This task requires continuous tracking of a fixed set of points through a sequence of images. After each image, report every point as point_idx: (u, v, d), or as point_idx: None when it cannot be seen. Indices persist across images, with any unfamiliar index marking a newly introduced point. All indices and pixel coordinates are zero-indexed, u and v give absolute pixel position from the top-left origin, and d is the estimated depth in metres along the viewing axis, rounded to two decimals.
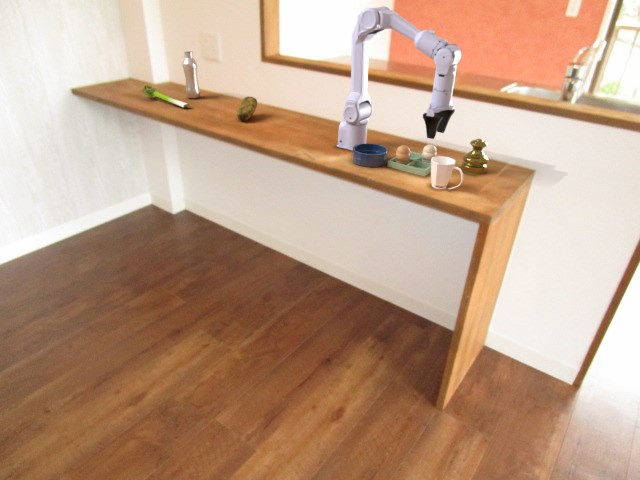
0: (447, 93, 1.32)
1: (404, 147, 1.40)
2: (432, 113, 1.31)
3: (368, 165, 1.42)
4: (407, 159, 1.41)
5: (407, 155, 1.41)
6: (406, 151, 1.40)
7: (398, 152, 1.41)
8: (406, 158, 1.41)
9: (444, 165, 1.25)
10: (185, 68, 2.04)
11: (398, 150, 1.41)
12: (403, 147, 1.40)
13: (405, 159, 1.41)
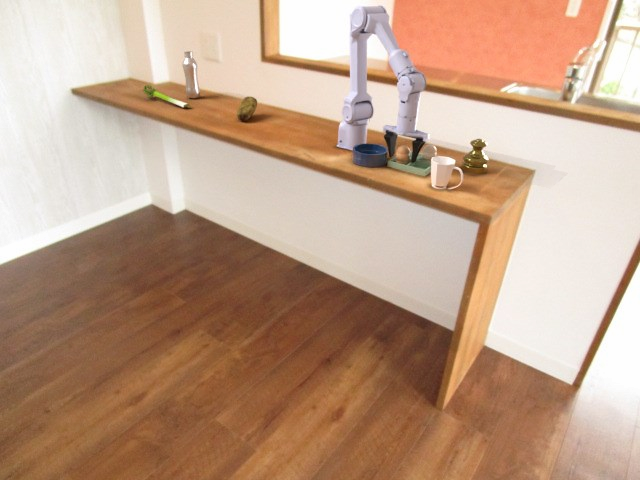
0: (398, 117, 1.36)
1: (404, 147, 1.40)
2: (383, 129, 1.42)
3: (368, 165, 1.42)
4: (407, 159, 1.41)
5: (407, 155, 1.41)
6: (406, 151, 1.40)
7: (398, 152, 1.41)
8: (406, 158, 1.41)
9: (444, 165, 1.25)
10: (185, 68, 2.04)
11: (398, 150, 1.41)
12: (403, 147, 1.40)
13: (405, 159, 1.41)
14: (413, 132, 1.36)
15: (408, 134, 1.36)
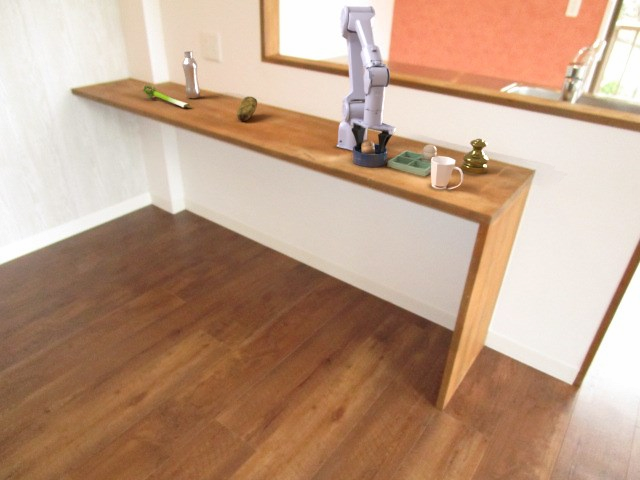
0: (365, 110, 1.38)
1: (367, 140, 1.45)
2: (351, 122, 1.44)
3: (368, 165, 1.42)
4: (372, 151, 1.45)
5: (371, 147, 1.44)
6: (369, 143, 1.44)
7: (362, 146, 1.45)
8: (371, 150, 1.44)
9: (444, 165, 1.25)
10: (185, 68, 2.04)
11: (362, 144, 1.45)
12: (366, 140, 1.45)
13: (370, 151, 1.44)
14: (379, 125, 1.39)
15: (374, 127, 1.38)
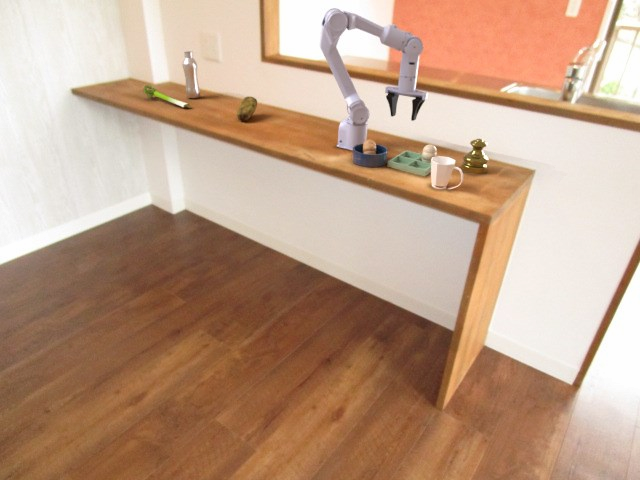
0: None
1: (370, 139, 1.47)
2: (427, 96, 1.48)
3: (368, 165, 1.42)
4: (374, 149, 1.46)
5: (373, 145, 1.46)
6: (372, 141, 1.46)
7: (364, 143, 1.46)
8: (373, 148, 1.45)
9: (444, 165, 1.25)
10: (185, 68, 2.04)
11: (364, 142, 1.46)
12: (369, 139, 1.47)
13: (372, 149, 1.45)
14: None
15: None
